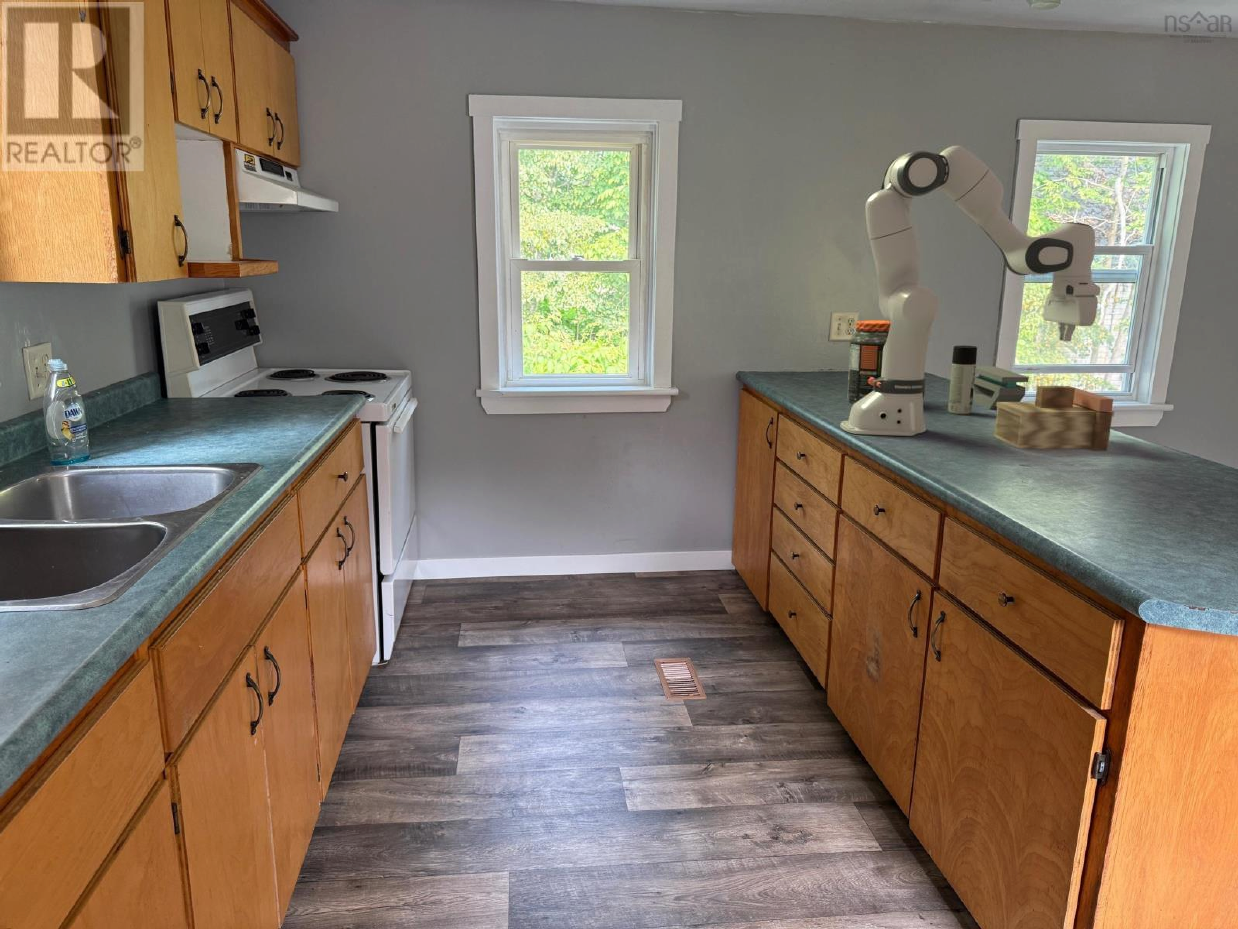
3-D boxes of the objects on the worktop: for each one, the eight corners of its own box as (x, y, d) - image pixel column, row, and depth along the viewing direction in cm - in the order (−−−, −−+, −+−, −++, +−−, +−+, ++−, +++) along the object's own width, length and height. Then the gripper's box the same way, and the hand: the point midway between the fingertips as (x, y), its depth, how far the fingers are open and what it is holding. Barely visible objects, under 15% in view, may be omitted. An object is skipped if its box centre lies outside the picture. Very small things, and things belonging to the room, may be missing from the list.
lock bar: (1099, 411, 204) (1100, 399, 204) (1061, 398, 222) (1062, 387, 221) (1111, 411, 204) (1113, 399, 204) (1073, 398, 222) (1074, 387, 221)
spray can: (973, 415, 252) (980, 347, 247) (949, 414, 253) (955, 347, 248) (969, 411, 258) (975, 345, 253) (945, 410, 259) (951, 344, 254)
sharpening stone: (1024, 413, 255) (1028, 377, 252) (998, 413, 255) (1002, 377, 252) (990, 399, 279) (993, 366, 276) (966, 399, 279) (969, 366, 276)
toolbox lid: (1020, 422, 207) (1024, 391, 205) (995, 412, 221) (998, 382, 219) (1112, 422, 207) (1117, 391, 205) (1081, 411, 221) (1085, 382, 219)
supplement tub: (891, 398, 281) (897, 319, 274) (902, 406, 266) (908, 323, 259) (842, 397, 282) (847, 319, 276) (850, 406, 267) (855, 323, 261)
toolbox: (1022, 450, 207) (1027, 413, 204) (990, 434, 225) (994, 400, 222) (1113, 450, 207) (1118, 412, 204) (1073, 434, 225) (1078, 399, 222)
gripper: (1039, 285, 230) (1034, 337, 233) (1079, 289, 210) (1072, 344, 213) (1062, 285, 230) (1057, 336, 233) (1104, 288, 210) (1097, 344, 213)
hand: (1064, 340), depth 223 cm, fingers closed
